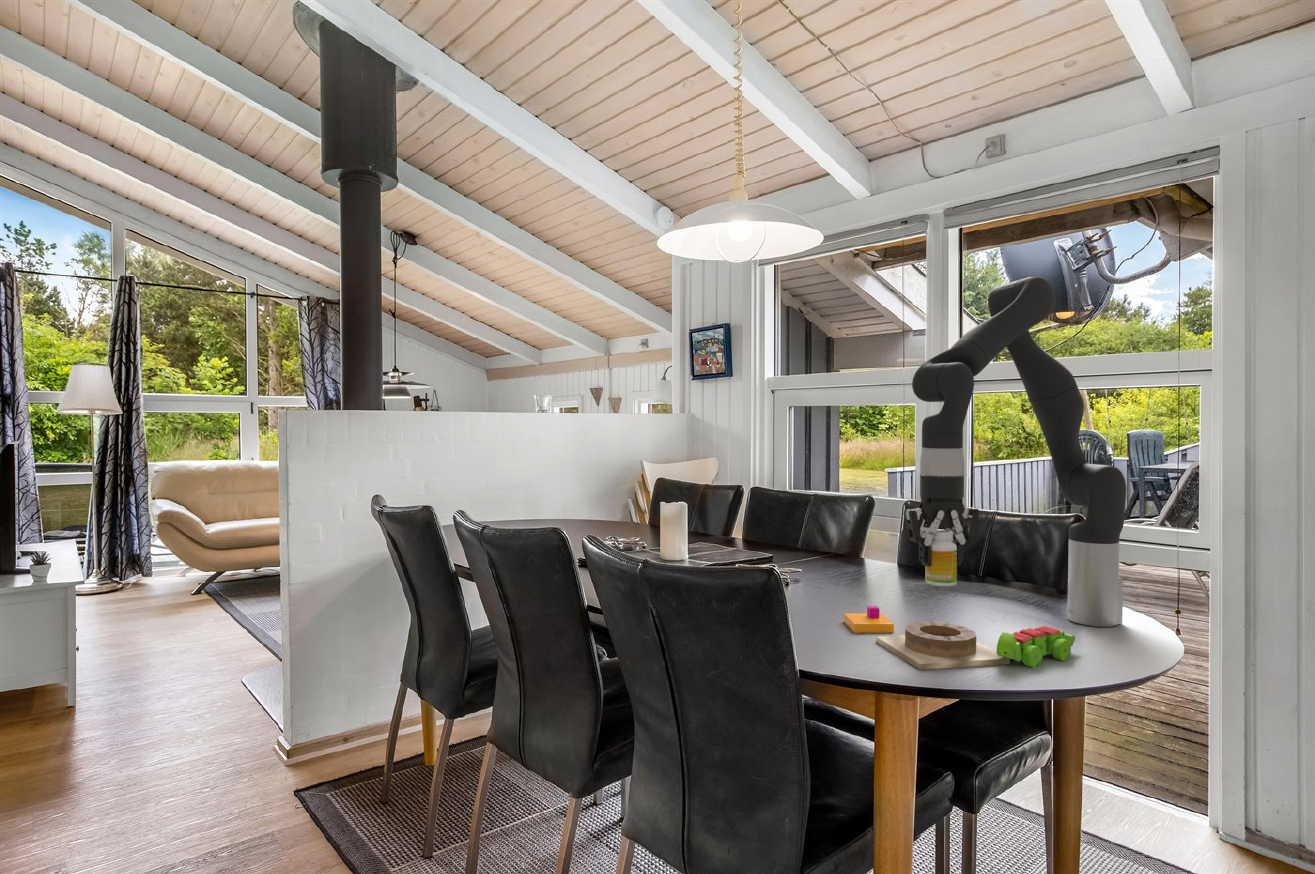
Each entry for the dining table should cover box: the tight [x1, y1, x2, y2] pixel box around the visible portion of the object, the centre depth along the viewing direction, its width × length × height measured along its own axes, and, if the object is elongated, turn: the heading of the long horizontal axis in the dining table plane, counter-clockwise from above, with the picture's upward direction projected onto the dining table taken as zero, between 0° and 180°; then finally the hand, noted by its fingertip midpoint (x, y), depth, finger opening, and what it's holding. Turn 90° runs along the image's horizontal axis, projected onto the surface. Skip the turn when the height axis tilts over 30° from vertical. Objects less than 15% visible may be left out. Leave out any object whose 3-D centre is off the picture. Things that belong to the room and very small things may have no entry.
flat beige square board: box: [875, 634, 1011, 671], centre depth 136 cm, size 17×16×1 cm
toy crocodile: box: [995, 625, 1076, 669], centre depth 133 cm, size 20×7×6 cm, turn 118°
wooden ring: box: [904, 621, 977, 658], centre depth 136 cm, size 12×12×3 cm
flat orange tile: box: [843, 605, 895, 634], centre depth 153 cm, size 8×8×4 cm
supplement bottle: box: [924, 528, 958, 587], centre depth 136 cm, size 5×5×10 cm
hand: (941, 564), depth 136 cm, fingers closed on supplement bottle, 5 cm apart
